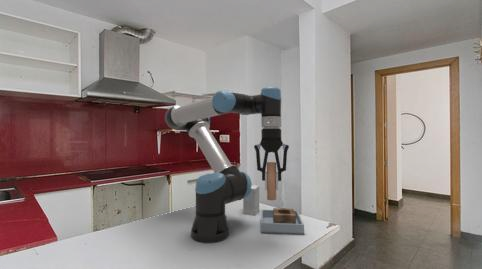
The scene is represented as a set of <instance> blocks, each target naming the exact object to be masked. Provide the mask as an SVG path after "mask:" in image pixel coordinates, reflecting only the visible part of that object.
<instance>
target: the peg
mask: <svg viewBox="0 0 482 269" xmlns="http://www.w3.org/2000/svg"><path fill="white" fill-rule="evenodd" d="M266 172H267V190H266V199H267V200H268V201H276V200H277V190H276V172H277V164H276V161H267V164H266Z"/></svg>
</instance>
